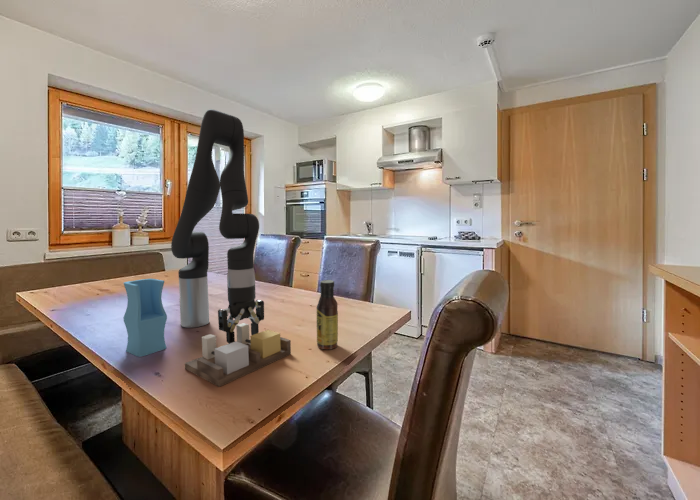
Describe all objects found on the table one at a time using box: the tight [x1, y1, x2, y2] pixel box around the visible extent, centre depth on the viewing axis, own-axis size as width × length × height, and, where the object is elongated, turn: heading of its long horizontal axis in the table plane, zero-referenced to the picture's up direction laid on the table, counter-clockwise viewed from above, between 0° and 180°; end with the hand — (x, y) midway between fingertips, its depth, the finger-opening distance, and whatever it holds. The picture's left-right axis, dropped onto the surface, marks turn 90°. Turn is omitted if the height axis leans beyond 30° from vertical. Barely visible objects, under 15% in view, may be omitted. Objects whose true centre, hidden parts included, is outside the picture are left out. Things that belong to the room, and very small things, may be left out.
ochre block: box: [235, 322, 281, 358], centre depth 90 cm, size 14×6×6 cm, turn 54°
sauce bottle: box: [316, 279, 339, 351], centre depth 94 cm, size 7×6×20 cm
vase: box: [123, 278, 168, 357], centre depth 92 cm, size 8×8×20 cm
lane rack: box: [184, 336, 292, 388], centre depth 85 cm, size 15×22×4 cm
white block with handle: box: [201, 333, 249, 374], centre depth 81 cm, size 14×6×6 cm, turn 54°
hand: (243, 339), depth 93 cm, fingers open, 7 cm apart
